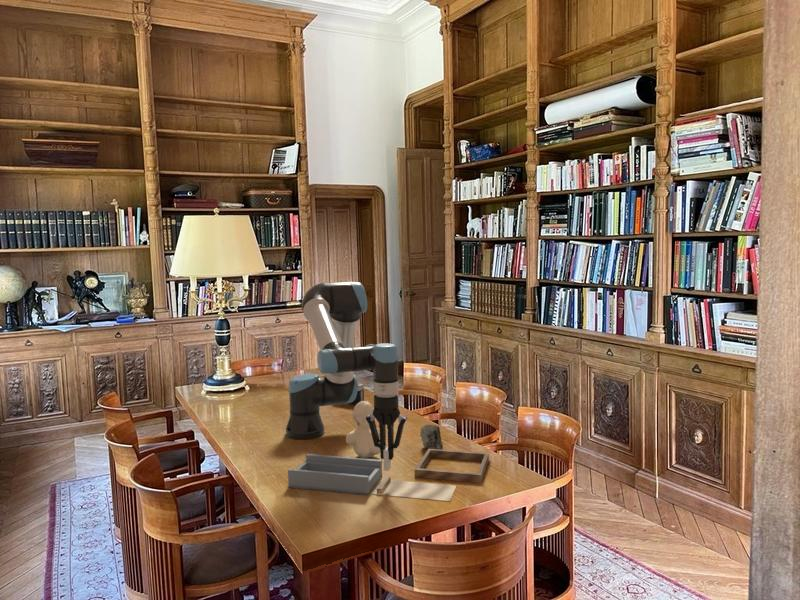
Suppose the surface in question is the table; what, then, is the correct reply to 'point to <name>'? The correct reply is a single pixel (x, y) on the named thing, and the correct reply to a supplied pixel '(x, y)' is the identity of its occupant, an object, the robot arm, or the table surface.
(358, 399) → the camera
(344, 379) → the robot arm
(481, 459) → the brown wooden frame
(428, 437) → the stone
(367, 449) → the figurine
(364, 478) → the pencil box
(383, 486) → the lid
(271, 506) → the table surface
